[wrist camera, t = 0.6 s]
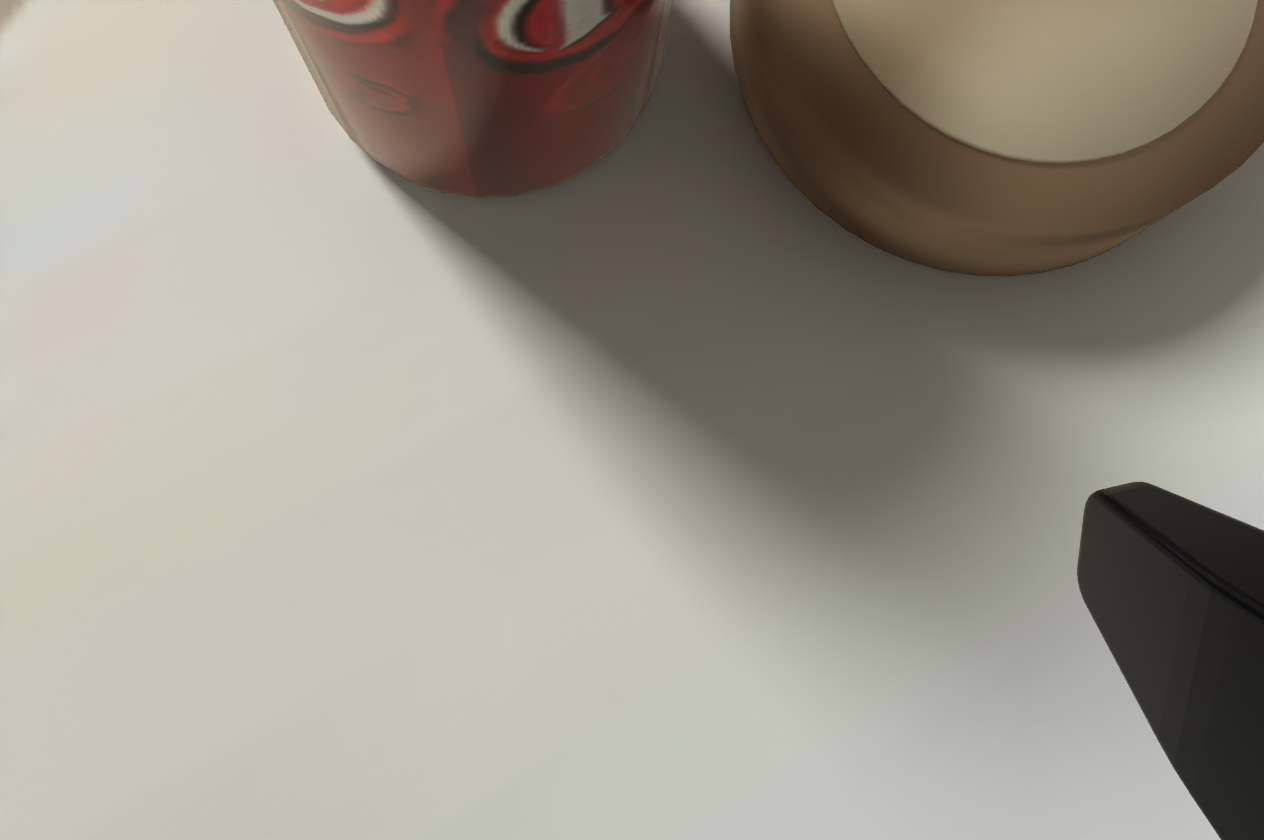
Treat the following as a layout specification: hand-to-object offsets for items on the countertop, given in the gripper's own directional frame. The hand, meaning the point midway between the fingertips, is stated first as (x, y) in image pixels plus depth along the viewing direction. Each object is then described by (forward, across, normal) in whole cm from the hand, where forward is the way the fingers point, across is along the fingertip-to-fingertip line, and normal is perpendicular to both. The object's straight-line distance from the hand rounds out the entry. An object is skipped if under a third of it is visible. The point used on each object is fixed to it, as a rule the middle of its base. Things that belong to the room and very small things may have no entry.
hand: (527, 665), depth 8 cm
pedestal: (+17, -12, +1) cm, 20 cm away
